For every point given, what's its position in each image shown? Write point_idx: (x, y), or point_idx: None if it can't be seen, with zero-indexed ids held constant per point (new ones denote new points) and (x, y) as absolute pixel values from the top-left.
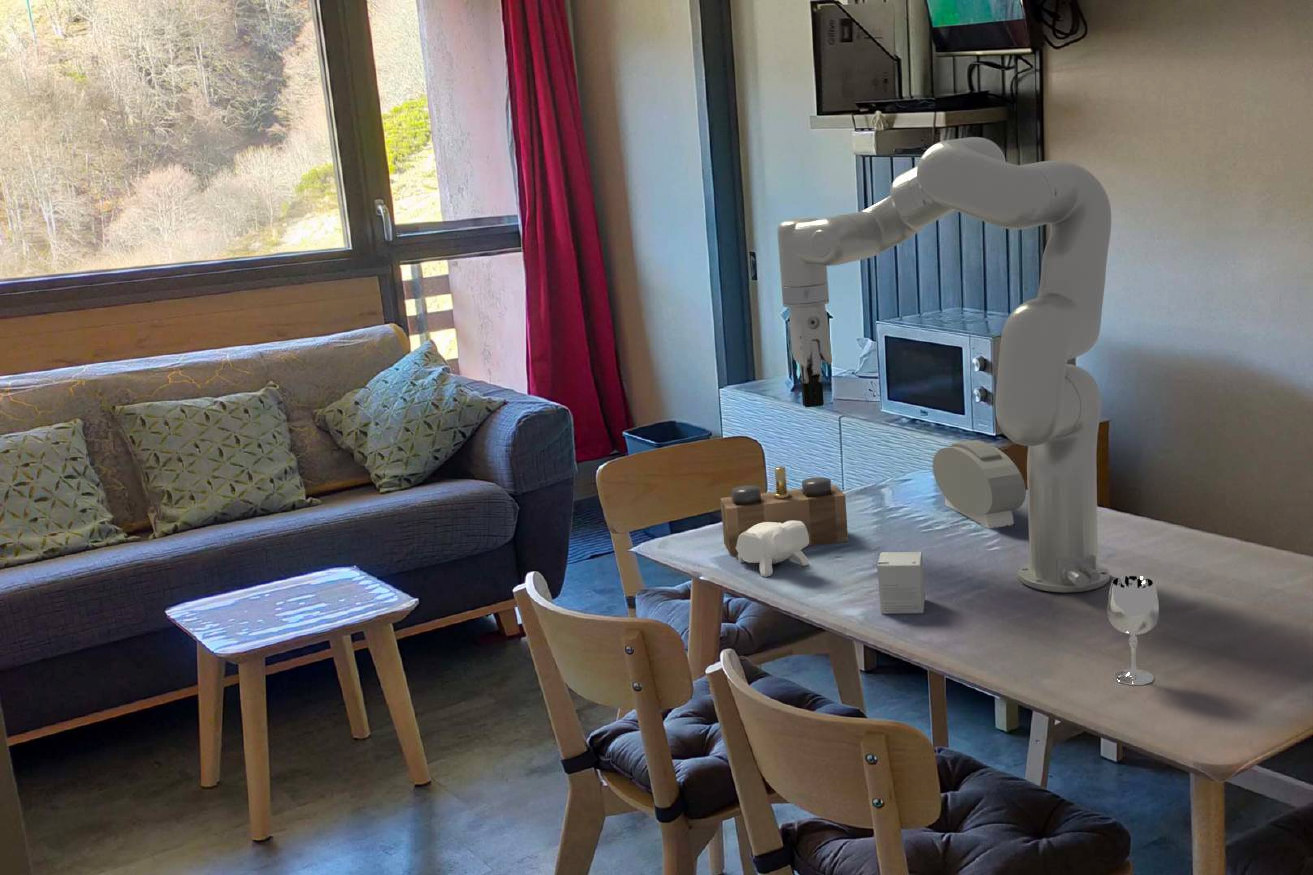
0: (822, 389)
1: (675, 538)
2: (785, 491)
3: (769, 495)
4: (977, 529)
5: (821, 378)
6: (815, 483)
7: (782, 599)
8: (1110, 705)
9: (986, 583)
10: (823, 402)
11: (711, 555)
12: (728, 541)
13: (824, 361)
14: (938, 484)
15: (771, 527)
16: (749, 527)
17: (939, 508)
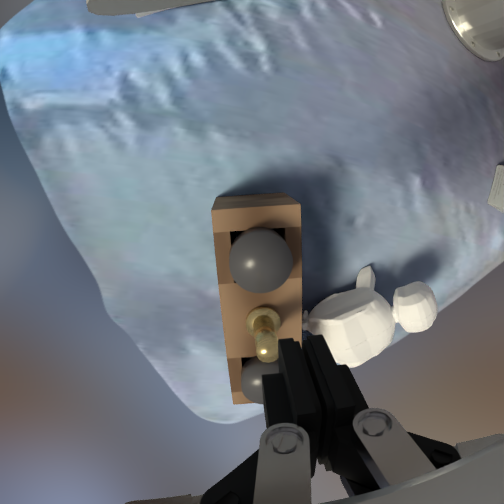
0: (342, 377)
1: (194, 405)
2: (272, 320)
3: (245, 339)
4: (287, 3)
5: (396, 423)
6: (280, 268)
7: (450, 302)
8: None
9: (477, 88)
10: (323, 338)
11: None
12: None
13: (353, 496)
14: (119, 13)
15: (386, 335)
16: None
17: (154, 26)
